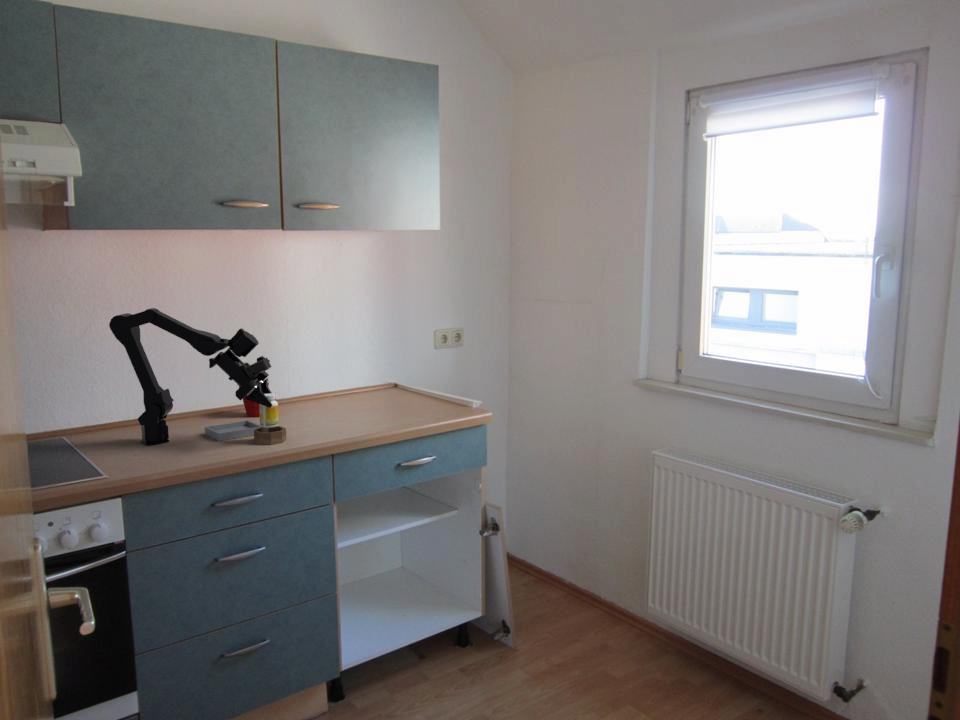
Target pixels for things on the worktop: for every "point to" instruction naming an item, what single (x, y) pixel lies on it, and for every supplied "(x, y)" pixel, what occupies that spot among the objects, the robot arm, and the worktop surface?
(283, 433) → the cup holder
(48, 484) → the worktop surface
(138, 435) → the worktop surface
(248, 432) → the tray
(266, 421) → the supplement bottle
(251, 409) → the plastic cup
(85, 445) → the worktop surface
